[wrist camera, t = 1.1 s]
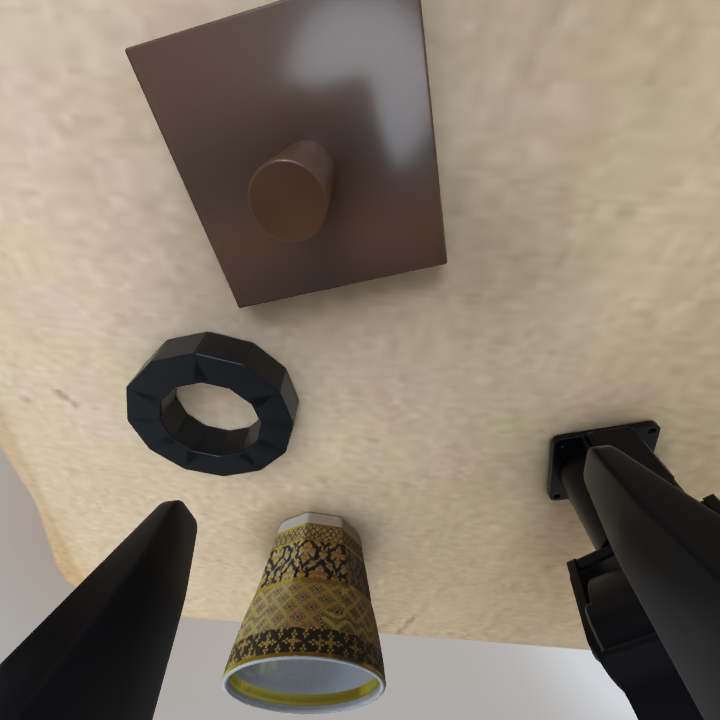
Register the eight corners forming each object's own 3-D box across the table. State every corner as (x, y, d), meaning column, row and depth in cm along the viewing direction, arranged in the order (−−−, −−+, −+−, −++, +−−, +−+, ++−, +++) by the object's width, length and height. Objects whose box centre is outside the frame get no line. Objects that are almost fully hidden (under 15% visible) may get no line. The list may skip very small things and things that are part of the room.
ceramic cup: (230, 524, 31) (185, 680, 23) (336, 482, 28) (327, 642, 20) (321, 592, 37) (311, 733, 29) (414, 563, 34) (433, 710, 26)
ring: (314, 436, 25) (310, 462, 24) (188, 457, 27) (175, 484, 25) (266, 318, 21) (257, 340, 19) (113, 350, 22) (91, 374, 20)
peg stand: (441, 253, 19) (479, 323, 13) (246, 295, 20) (200, 377, 14) (411, -30, 13) (453, -130, 7) (143, 53, 14) (-3, 22, 9)
